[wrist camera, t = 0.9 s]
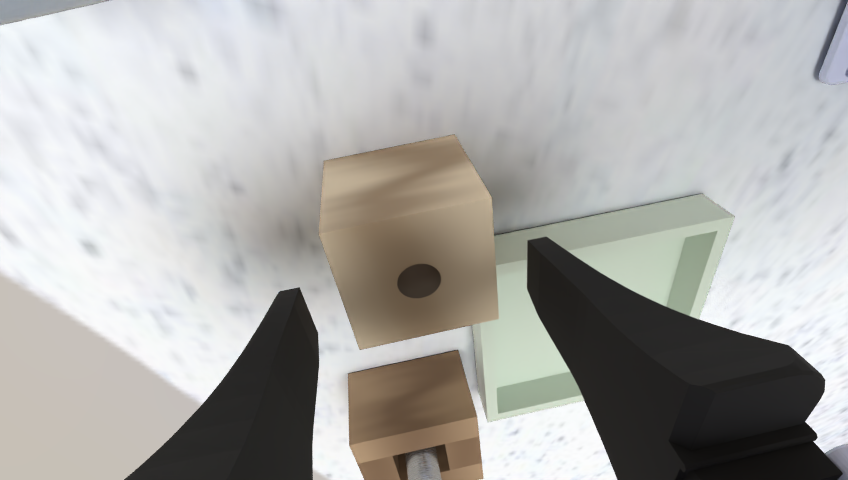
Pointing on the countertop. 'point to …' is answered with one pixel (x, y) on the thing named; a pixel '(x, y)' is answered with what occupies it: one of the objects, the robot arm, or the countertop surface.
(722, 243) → the tray
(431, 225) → the block
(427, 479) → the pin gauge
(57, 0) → the medicine box
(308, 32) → the countertop surface
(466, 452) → the slotted wooden block
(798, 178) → the countertop surface
